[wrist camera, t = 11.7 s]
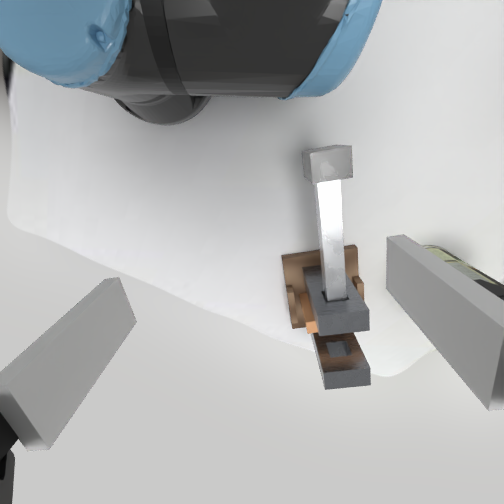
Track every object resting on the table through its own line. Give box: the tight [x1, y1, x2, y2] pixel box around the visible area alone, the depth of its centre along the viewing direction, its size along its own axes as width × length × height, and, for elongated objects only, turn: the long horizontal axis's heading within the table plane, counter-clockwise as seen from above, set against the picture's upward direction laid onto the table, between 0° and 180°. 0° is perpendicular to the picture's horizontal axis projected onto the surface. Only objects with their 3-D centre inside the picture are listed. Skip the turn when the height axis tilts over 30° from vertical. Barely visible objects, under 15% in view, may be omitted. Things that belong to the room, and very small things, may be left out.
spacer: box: [299, 293, 318, 334], centre depth 43 cm, size 2×8×8 cm, turn 102°
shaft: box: [302, 145, 353, 303], centre depth 33 cm, size 20×4×6 cm, turn 10°
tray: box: [282, 245, 364, 329], centre depth 46 cm, size 14×12×4 cm
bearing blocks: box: [302, 265, 371, 390], centre depth 41 cm, size 12×6×14 cm, turn 10°
